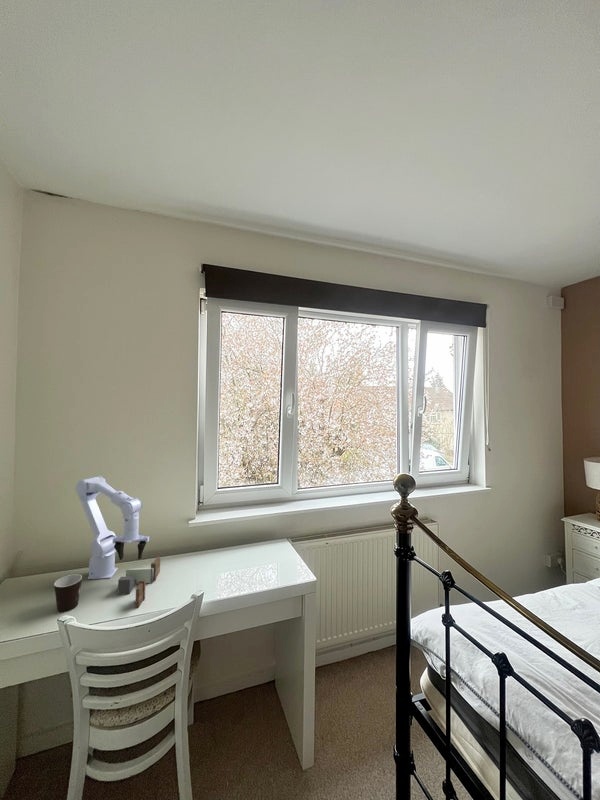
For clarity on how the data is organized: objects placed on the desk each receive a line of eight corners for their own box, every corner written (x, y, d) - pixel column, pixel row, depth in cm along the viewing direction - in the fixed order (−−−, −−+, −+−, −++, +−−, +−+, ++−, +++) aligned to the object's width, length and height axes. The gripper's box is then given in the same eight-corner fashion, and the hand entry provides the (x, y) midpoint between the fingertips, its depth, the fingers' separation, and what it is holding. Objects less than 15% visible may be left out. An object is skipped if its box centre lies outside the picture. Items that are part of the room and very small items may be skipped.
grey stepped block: (129, 594, 129) (129, 579, 129) (118, 595, 129) (118, 580, 129) (136, 584, 136) (136, 570, 136) (125, 584, 136) (125, 570, 136)
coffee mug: (72, 614, 117) (73, 586, 117) (47, 614, 116) (48, 587, 116) (90, 594, 128) (91, 569, 128) (68, 595, 128) (68, 570, 128)
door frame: (134, 607, 121) (134, 587, 121) (156, 571, 146) (156, 555, 146) (139, 607, 121) (140, 587, 121) (160, 571, 146) (161, 555, 146)
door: (153, 581, 138) (153, 567, 138) (152, 582, 137) (153, 568, 137) (126, 582, 137) (126, 568, 137) (125, 584, 136) (125, 569, 136)
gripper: (109, 531, 134) (108, 563, 134) (145, 530, 136) (144, 562, 136) (116, 525, 141) (116, 555, 141) (151, 524, 143) (150, 554, 143)
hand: (130, 558), depth 139 cm, fingers open, 7 cm apart
